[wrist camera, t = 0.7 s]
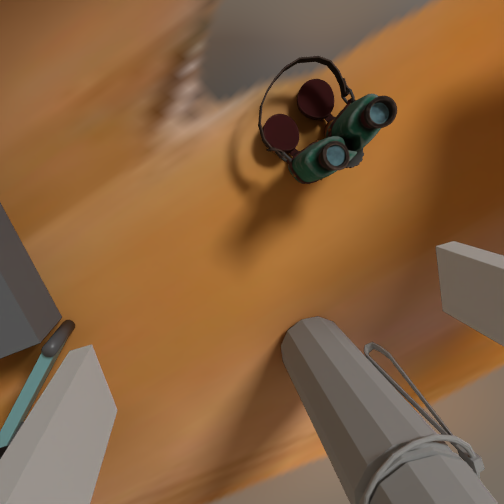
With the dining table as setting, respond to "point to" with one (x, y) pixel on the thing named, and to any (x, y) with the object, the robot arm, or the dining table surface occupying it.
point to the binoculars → (336, 131)
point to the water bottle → (376, 424)
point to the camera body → (21, 295)
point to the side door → (35, 382)
